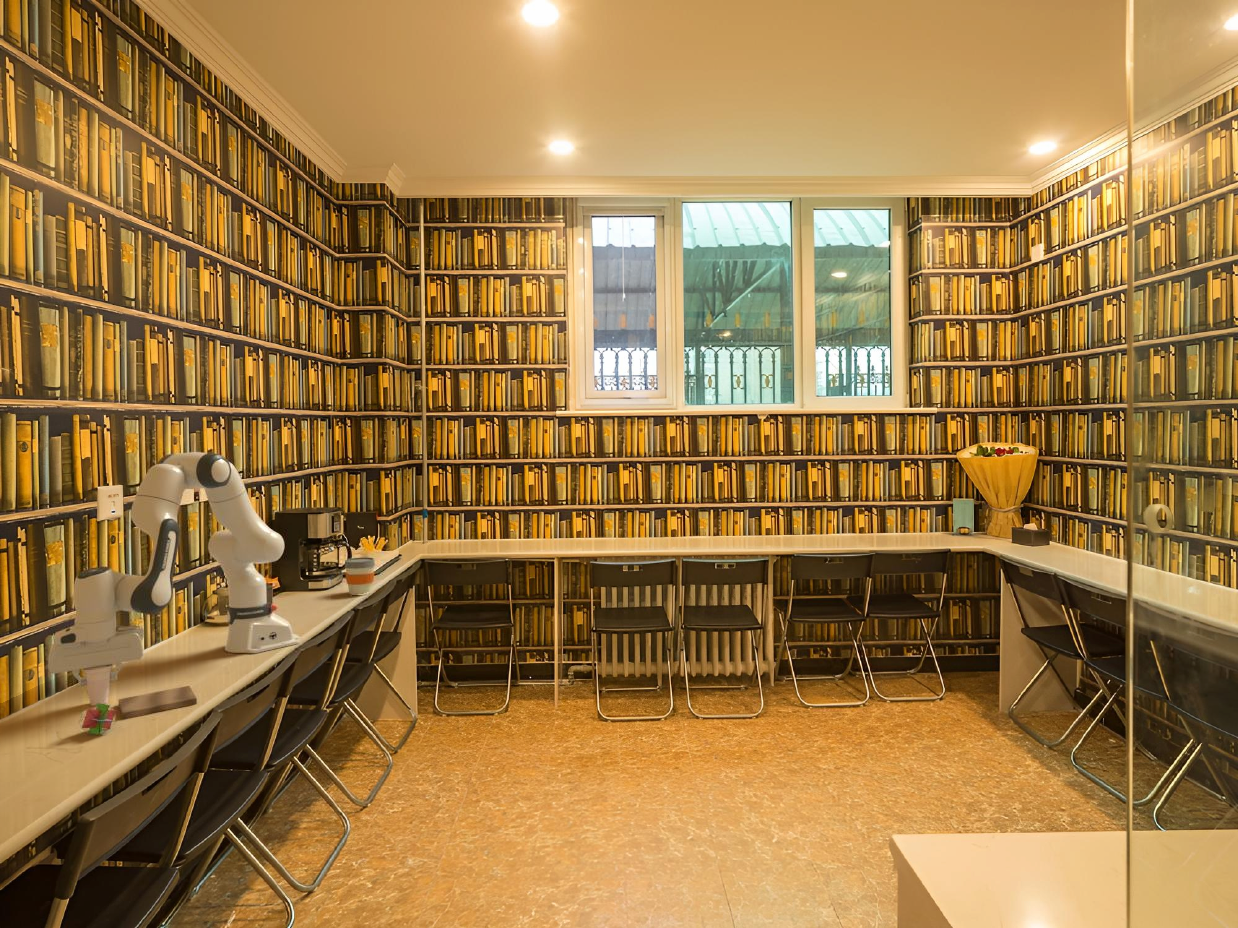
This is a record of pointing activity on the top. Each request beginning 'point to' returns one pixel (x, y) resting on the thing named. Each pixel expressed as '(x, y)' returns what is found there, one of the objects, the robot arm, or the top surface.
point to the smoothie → (98, 683)
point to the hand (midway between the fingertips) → (98, 682)
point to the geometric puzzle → (97, 719)
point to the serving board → (157, 701)
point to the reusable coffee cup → (359, 574)
